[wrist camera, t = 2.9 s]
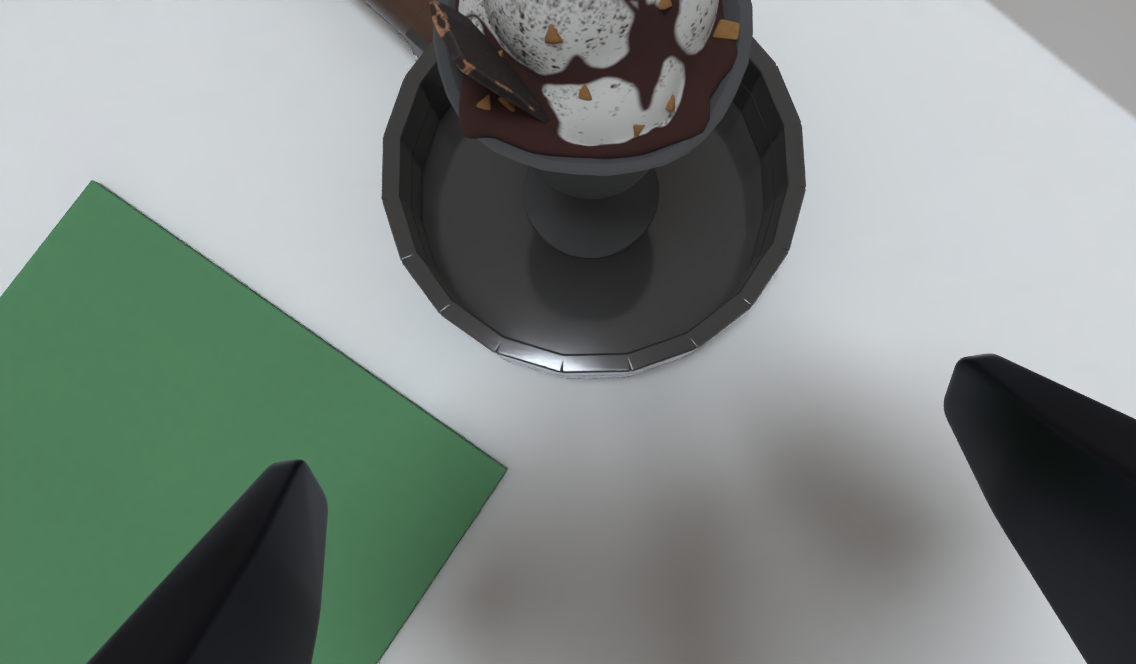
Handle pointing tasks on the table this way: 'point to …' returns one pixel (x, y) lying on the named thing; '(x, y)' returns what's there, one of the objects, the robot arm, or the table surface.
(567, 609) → the table surface
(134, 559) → the cloth
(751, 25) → the sundae
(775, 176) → the skillet
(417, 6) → the skillet handle
